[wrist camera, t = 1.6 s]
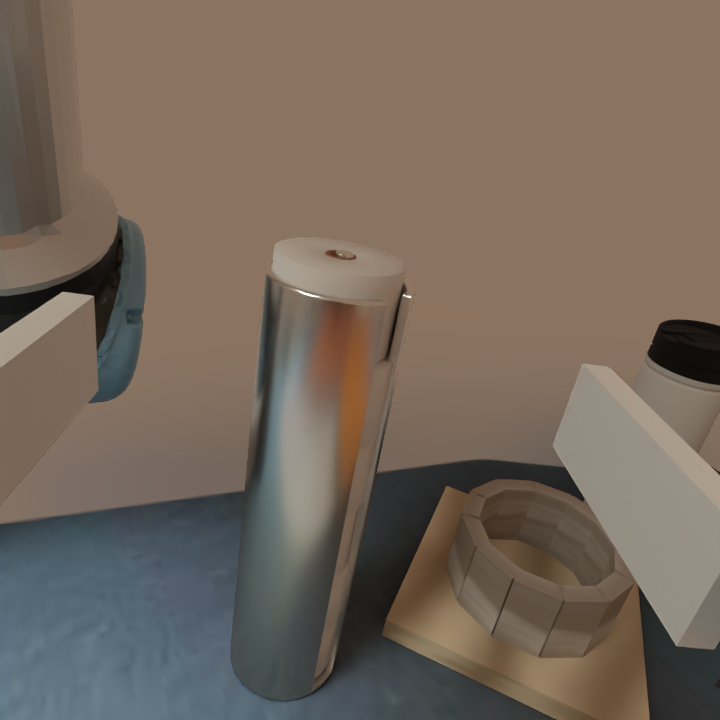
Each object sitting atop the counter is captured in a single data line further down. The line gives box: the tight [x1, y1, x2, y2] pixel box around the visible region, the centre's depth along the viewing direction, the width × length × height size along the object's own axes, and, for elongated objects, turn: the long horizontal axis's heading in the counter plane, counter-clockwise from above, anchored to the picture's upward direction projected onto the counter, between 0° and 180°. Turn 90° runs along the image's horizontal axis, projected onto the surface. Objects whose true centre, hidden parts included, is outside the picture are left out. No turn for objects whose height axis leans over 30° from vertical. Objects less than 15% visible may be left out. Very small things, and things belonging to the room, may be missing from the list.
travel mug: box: [583, 320, 720, 507], centre depth 45 cm, size 6×7×20 cm
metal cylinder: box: [231, 237, 415, 701], centre depth 28 cm, size 6×6×25 cm
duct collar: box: [382, 479, 650, 720], centre depth 39 cm, size 16×16×6 cm
